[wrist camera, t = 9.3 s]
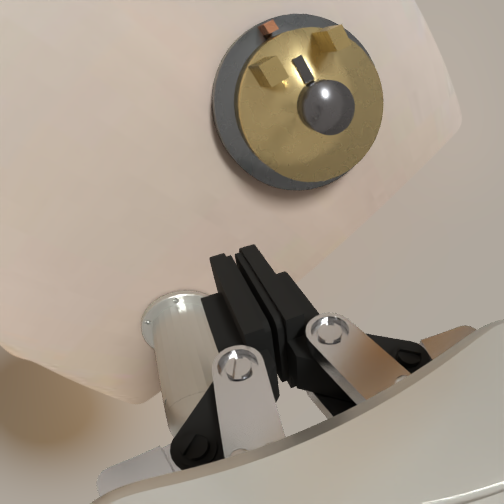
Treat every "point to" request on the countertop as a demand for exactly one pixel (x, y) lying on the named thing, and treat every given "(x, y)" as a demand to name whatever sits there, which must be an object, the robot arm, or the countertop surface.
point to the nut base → (226, 90)
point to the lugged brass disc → (309, 103)
